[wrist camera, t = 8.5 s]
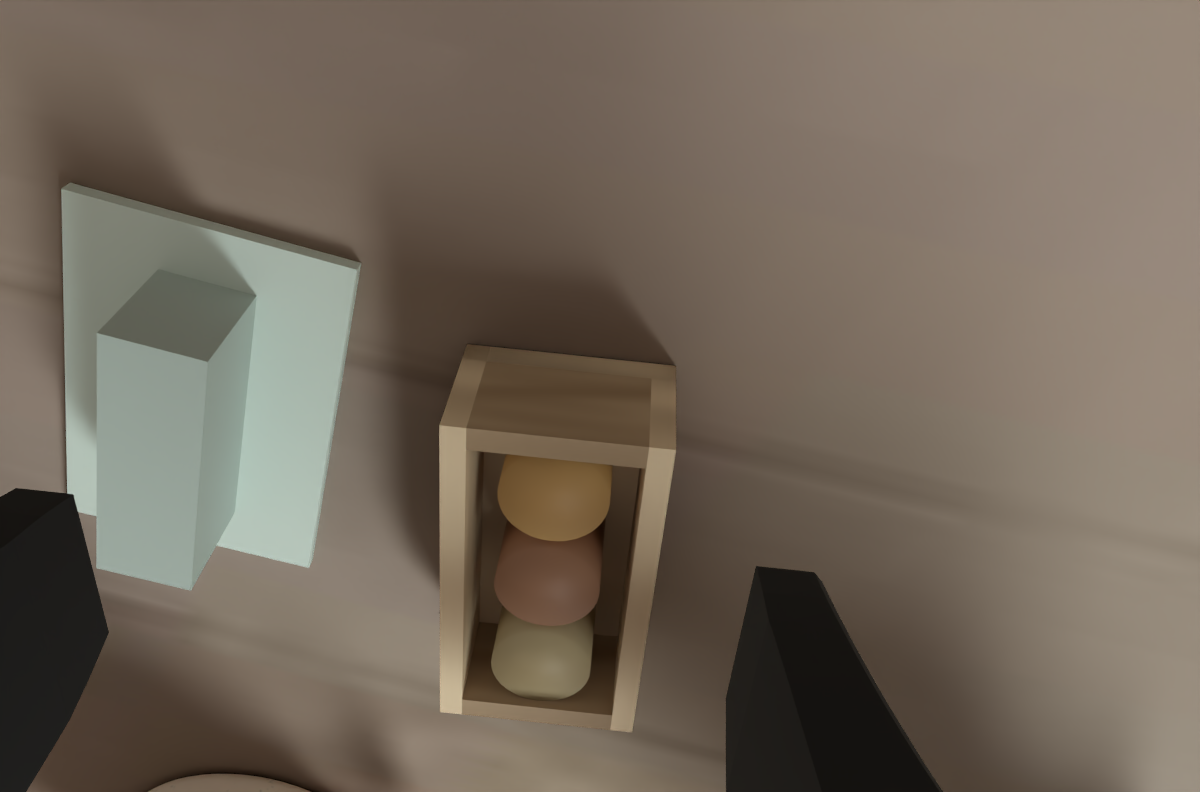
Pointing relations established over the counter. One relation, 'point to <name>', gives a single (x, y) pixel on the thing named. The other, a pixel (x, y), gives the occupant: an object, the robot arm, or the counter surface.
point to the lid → (197, 384)
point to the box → (551, 533)
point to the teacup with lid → (226, 784)
